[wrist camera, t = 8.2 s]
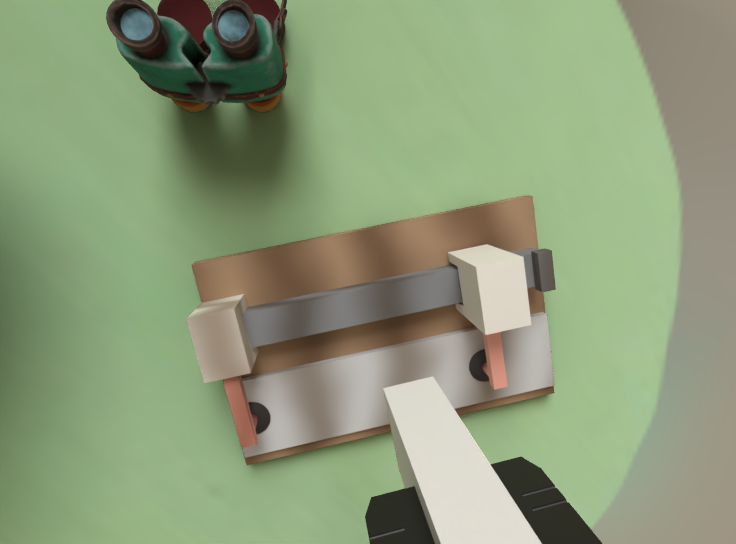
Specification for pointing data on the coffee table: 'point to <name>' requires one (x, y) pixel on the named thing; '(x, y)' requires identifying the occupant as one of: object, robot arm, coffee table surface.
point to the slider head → (492, 299)
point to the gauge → (363, 327)
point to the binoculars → (189, 40)
